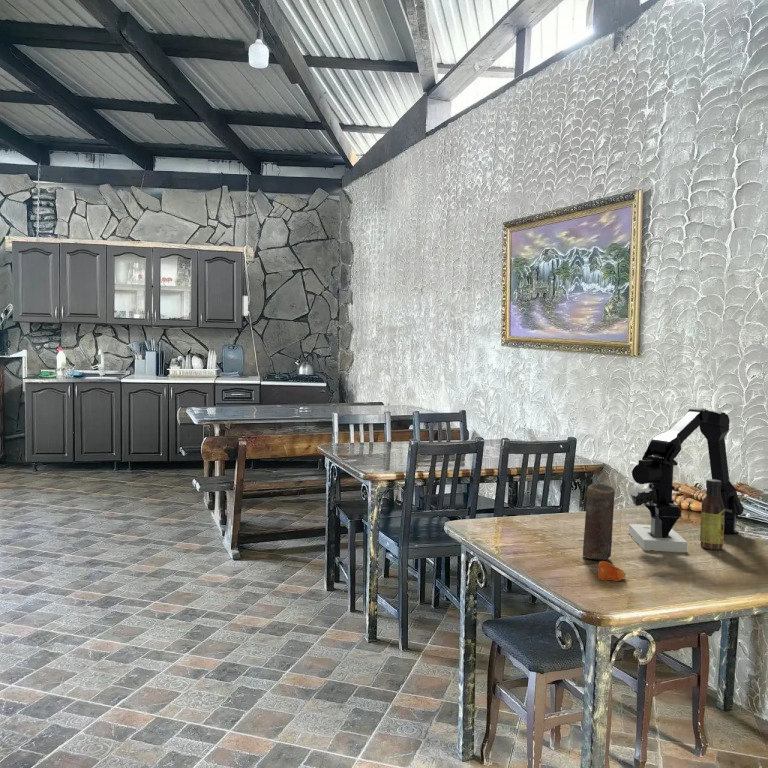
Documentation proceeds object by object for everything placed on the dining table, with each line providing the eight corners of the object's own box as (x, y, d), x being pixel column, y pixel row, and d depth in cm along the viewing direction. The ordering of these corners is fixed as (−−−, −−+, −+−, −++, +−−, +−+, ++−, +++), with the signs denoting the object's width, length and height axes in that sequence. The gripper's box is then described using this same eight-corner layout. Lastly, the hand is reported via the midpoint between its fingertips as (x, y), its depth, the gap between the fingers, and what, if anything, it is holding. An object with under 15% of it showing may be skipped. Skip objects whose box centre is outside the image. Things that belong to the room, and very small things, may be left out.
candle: (611, 556, 194) (615, 485, 193) (611, 564, 187) (614, 490, 186) (583, 553, 197) (586, 482, 195) (581, 560, 190) (584, 487, 189)
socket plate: (628, 533, 219) (628, 523, 219) (668, 535, 218) (668, 525, 218) (643, 550, 201) (643, 539, 201) (686, 552, 200) (687, 541, 200)
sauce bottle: (725, 551, 202) (729, 483, 201) (702, 549, 203) (705, 481, 202) (719, 545, 208) (723, 479, 207) (697, 543, 209) (700, 477, 208)
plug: (649, 543, 209) (651, 516, 208) (663, 543, 208) (665, 517, 208) (653, 547, 205) (655, 520, 204) (667, 547, 204) (669, 520, 204)
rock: (639, 591, 169) (640, 574, 169) (587, 586, 172) (587, 569, 171) (631, 575, 181) (632, 558, 181) (582, 570, 183) (583, 554, 183)
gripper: (626, 474, 216) (624, 524, 216) (641, 486, 197) (639, 541, 198) (663, 475, 214) (661, 526, 215) (683, 488, 196) (680, 543, 197)
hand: (659, 533), depth 206 cm, fingers open, 9 cm apart
